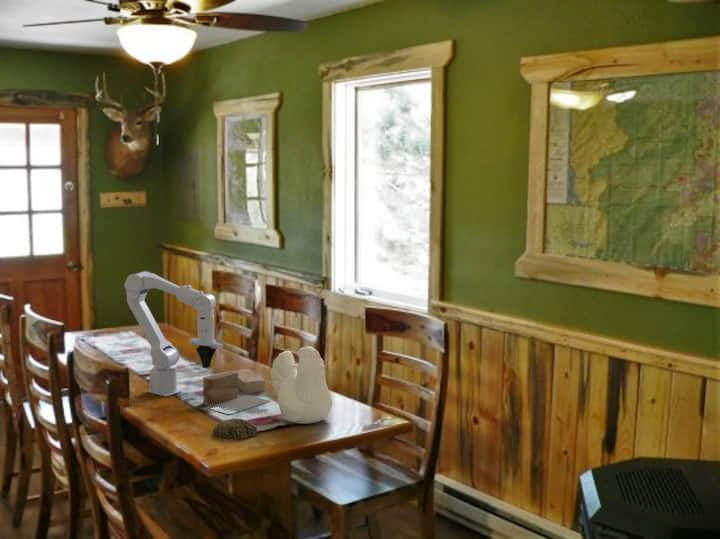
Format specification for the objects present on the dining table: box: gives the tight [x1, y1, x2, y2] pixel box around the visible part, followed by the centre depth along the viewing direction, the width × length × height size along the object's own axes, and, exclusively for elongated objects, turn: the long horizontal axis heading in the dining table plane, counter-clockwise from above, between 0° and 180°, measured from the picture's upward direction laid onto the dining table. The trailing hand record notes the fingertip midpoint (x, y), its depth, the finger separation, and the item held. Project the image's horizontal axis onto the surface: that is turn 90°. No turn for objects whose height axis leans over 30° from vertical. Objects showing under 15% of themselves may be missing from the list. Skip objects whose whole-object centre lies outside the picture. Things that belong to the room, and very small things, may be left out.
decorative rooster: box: [270, 345, 333, 424], centre depth 252 cm, size 25×16×25 cm, turn 33°
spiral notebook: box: [206, 394, 271, 412], centre depth 265 cm, size 11×20×1 cm, turn 145°
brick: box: [231, 368, 267, 394], centre depth 288 cm, size 17×8×5 cm, turn 32°
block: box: [202, 370, 239, 406], centre depth 270 cm, size 4×12×9 cm, turn 145°
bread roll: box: [212, 418, 258, 441], centre depth 237 cm, size 13×12×5 cm
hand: (206, 367), depth 273 cm, fingers closed
